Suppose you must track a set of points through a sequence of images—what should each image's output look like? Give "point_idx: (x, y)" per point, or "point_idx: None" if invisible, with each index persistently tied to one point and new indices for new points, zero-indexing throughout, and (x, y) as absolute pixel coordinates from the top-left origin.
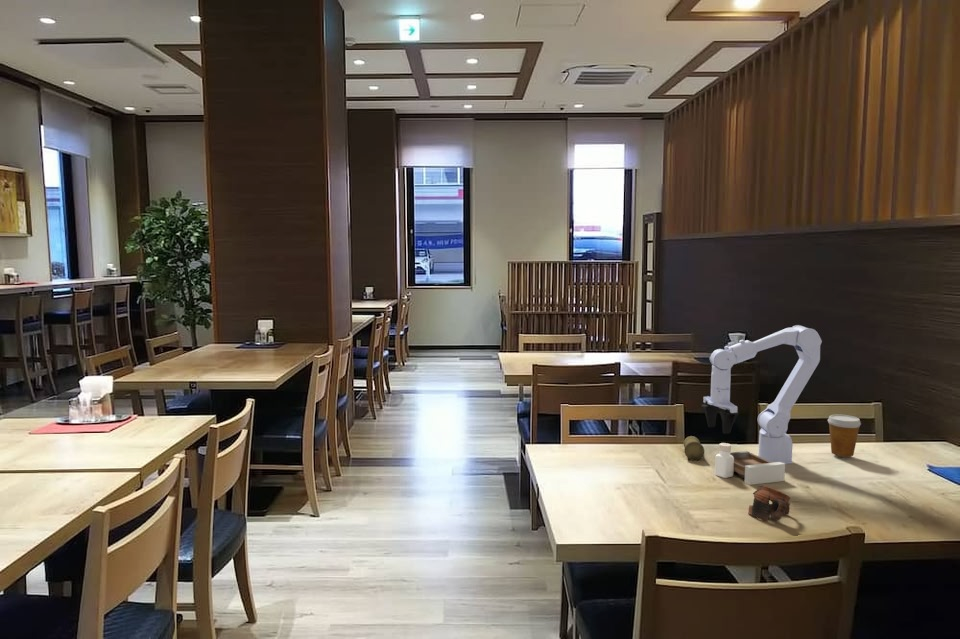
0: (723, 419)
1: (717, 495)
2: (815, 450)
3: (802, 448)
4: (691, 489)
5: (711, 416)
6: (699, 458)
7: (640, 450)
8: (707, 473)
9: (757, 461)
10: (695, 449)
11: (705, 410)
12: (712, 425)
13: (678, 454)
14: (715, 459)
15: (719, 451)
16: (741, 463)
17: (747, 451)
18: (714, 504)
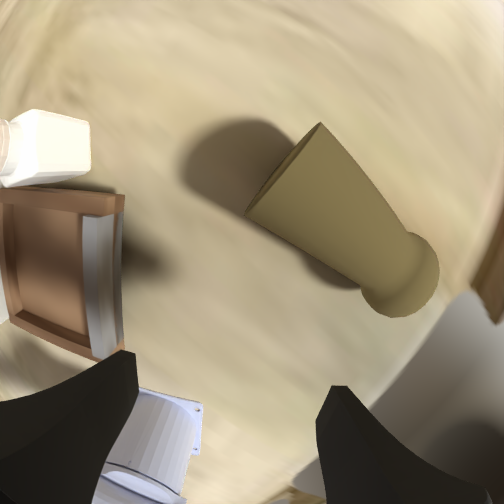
0: (27, 409)
1: (17, 52)
2: (200, 501)
3: (221, 499)
4: (67, 4)
5: (349, 473)
6: (260, 189)
7: (468, 89)
8: (115, 107)
9: (64, 327)
10: (279, 171)
11: (418, 492)
12: (324, 415)
13: (384, 174)
14: (47, 112)
15: (10, 122)
16: (54, 252)
17: (99, 355)
18: (8, 31)
